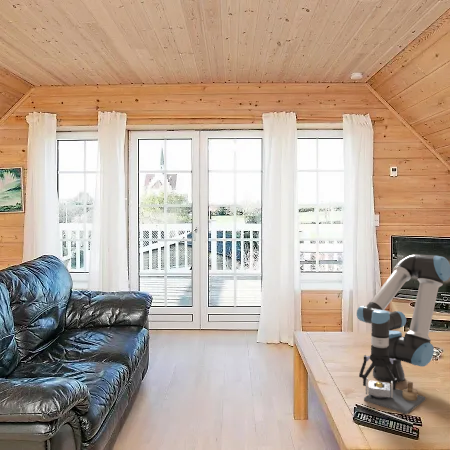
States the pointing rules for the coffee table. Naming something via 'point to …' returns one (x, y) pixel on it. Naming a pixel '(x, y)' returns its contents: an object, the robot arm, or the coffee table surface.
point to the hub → (379, 384)
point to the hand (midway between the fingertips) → (379, 394)
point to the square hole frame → (379, 389)
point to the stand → (410, 392)
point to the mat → (396, 401)
